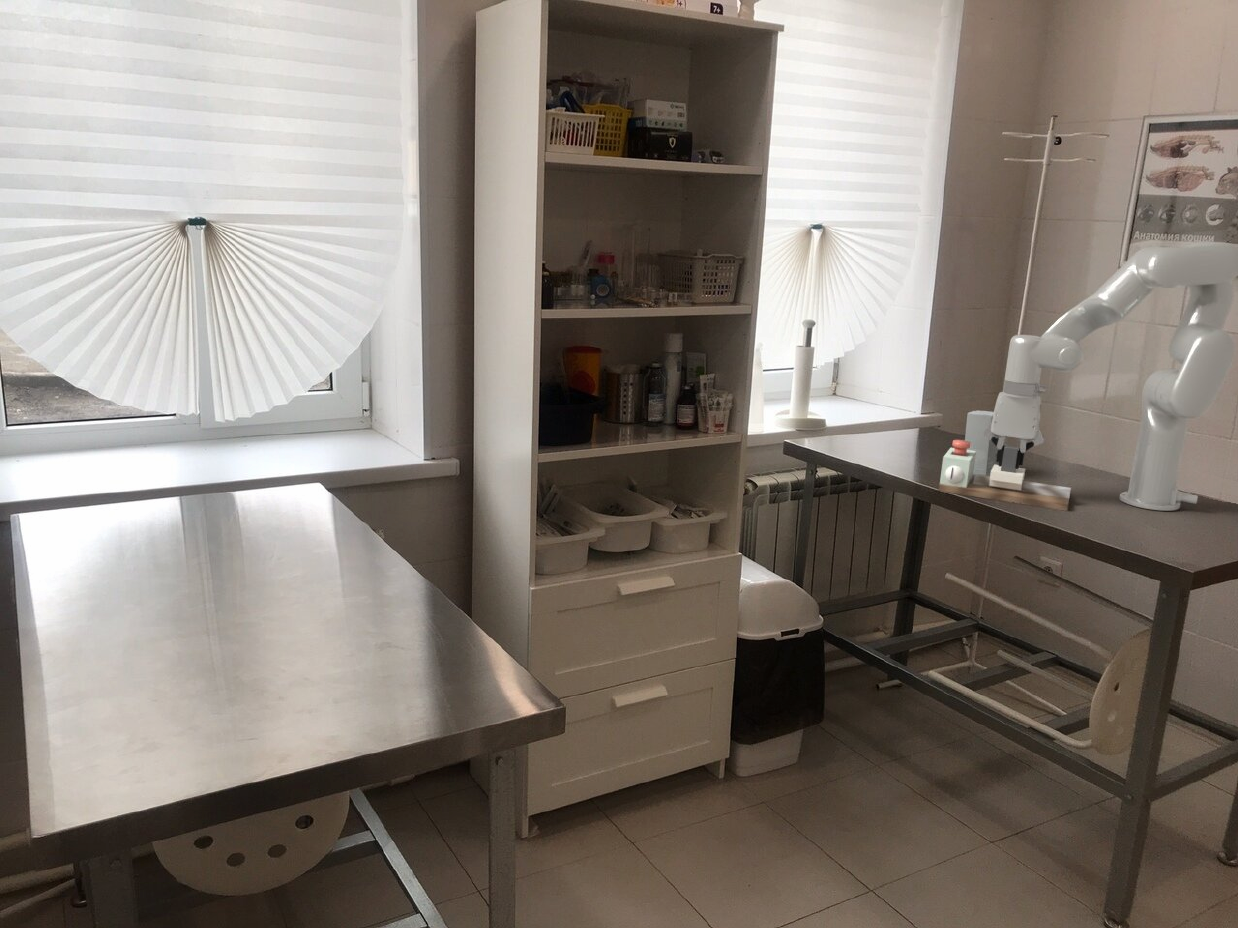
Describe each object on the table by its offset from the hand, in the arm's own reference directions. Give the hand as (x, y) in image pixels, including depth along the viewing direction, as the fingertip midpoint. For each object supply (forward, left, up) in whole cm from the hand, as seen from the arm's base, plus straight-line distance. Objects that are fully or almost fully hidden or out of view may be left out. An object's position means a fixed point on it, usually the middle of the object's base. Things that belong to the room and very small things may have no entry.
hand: (1008, 465), depth 232 cm
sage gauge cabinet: (+11, 0, -5) cm, 12 cm away
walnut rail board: (0, 0, -7) cm, 7 cm away
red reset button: (+11, 0, +1) cm, 11 cm away
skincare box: (+8, -18, -7) cm, 21 cm away
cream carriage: (0, 0, -5) cm, 5 cm away
